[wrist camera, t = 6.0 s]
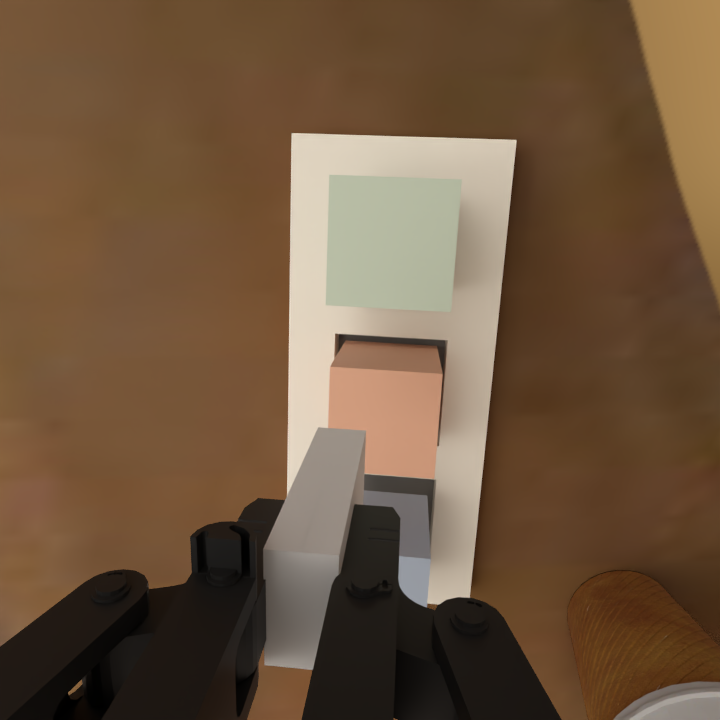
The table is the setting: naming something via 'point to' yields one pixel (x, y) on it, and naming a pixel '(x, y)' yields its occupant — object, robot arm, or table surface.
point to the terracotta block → (389, 404)
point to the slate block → (409, 540)
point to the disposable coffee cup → (641, 652)
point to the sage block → (392, 242)
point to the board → (407, 321)
